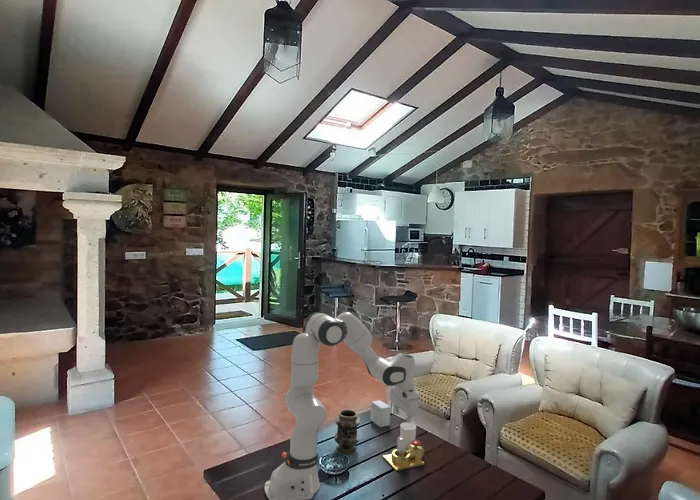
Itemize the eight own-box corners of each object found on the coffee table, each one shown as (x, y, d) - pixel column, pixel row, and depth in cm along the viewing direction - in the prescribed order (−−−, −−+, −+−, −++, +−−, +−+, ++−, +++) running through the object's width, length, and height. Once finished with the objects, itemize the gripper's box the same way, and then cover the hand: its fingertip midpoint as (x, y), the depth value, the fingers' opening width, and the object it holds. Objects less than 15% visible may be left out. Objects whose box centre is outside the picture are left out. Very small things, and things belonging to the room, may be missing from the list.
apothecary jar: (358, 456, 206) (360, 419, 205) (333, 455, 206) (334, 417, 205) (358, 443, 218) (360, 408, 217) (334, 442, 218) (335, 407, 217)
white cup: (397, 446, 217) (397, 426, 216) (402, 439, 224) (403, 420, 223) (412, 451, 213) (413, 430, 212) (417, 444, 220) (418, 424, 219)
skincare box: (390, 425, 239) (391, 406, 239) (380, 427, 236) (381, 408, 236) (379, 417, 249) (380, 399, 248) (369, 419, 245) (370, 401, 245)
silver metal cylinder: (399, 462, 200) (400, 441, 200) (394, 458, 204) (395, 437, 203) (406, 461, 202) (407, 439, 201) (402, 456, 205) (403, 435, 205)
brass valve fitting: (395, 471, 195) (396, 454, 194) (382, 457, 206) (383, 441, 205) (428, 463, 202) (429, 447, 202) (414, 451, 213) (415, 435, 212)
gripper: (386, 381, 209) (385, 409, 210) (409, 397, 190) (408, 428, 191) (398, 380, 211) (397, 408, 212) (422, 395, 193) (420, 426, 194)
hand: (402, 418), depth 202 cm, fingers open, 8 cm apart
